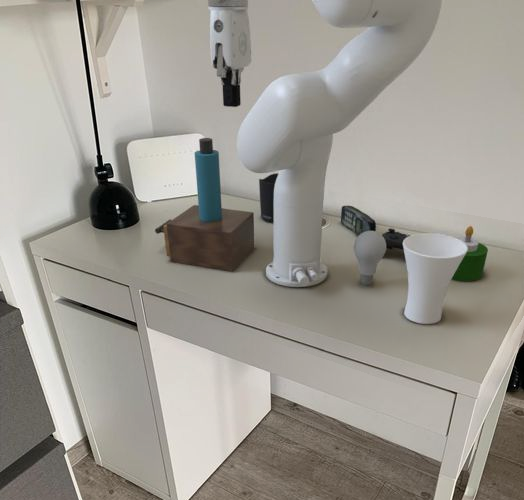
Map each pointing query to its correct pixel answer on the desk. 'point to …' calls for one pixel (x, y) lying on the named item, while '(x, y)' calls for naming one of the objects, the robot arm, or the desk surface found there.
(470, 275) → the candle
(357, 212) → the mobile phone
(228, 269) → the cabinet
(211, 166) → the teal bottle
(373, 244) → the lightbulb
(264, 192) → the pen holder
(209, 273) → the desk surface
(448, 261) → the cup
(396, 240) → the gaming controller
